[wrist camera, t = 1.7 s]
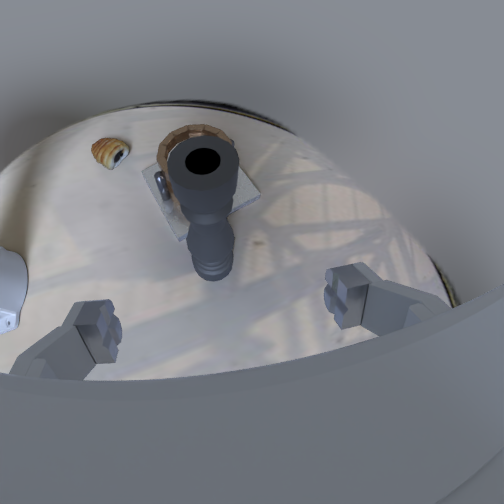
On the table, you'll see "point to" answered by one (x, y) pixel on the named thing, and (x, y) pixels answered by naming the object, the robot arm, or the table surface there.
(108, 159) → the pastry
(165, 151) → the collar stand
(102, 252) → the table surface
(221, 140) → the candle holder
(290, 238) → the table surface
